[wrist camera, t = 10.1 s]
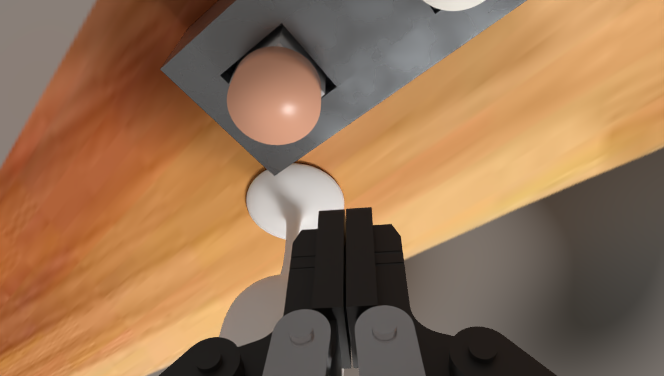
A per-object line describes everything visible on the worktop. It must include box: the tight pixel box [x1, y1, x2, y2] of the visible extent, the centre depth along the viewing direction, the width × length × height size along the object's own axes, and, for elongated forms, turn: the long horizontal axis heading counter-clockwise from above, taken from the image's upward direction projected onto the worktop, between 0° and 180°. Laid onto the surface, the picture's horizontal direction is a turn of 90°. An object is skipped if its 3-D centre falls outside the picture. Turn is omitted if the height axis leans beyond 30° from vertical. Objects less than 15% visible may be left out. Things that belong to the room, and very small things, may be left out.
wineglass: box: [219, 163, 344, 376], centre depth 36 cm, size 9×9×21 cm
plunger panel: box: [160, 0, 527, 176], centre depth 31 cm, size 10×22×7 cm, turn 129°
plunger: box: [227, 23, 326, 145], centre depth 31 cm, size 5×5×7 cm
